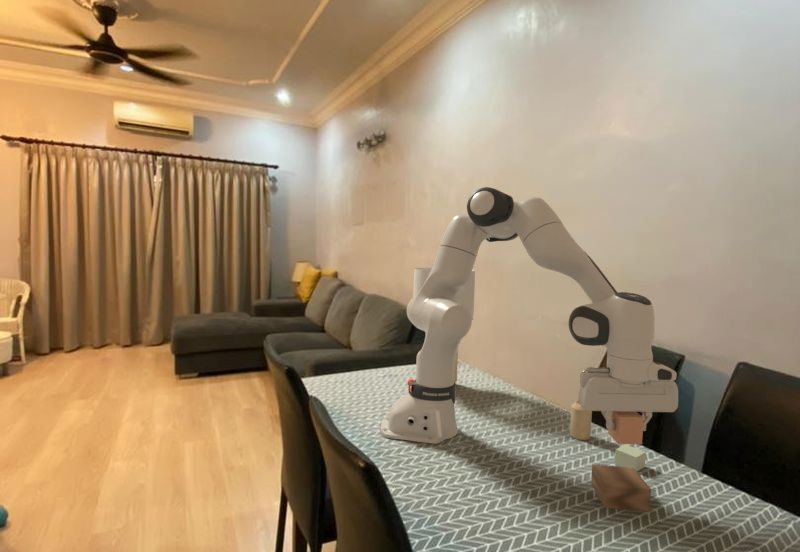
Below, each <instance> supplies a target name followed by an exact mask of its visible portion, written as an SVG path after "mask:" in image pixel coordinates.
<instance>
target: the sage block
mask: <svg viewBox="0 0 800 552" xmlns="http://www.w3.org/2000/svg"><path fill="white" fill-rule="evenodd" d="M646 454H647V452H646V451H645V450H642V449H639V448H636V447H633V446H631V445H630V444H622V446H620V447H618V448H616V449H615V455H614V456H615V457H614V458H615V459H614V466H619V467H632V468H634V469H635V470H636V471H637V472H639V471H640V470H642V469H644V468H645V467H646V456H647V455H646Z"/></svg>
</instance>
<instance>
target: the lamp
mask: <svg viewBox="0 0 800 552" xmlns="http://www.w3.org/2000/svg"><path fill="white" fill-rule="evenodd" d="M431 269H432V267H415V268H414V269H413V270H414V271H413V293H412V294H413V295H412V296H413V297H415V296H416V295H417V294H418V292H419V291H420V289H421V288H422V286H423V284H424V283H425V281H426V279H427V278H428V276H429V274H430V272H431ZM475 286H476V270H475V269H472V272H471V275H470V278H469V281H468V283H467V284H466V285H465V286H464V287H462V288H461V289H460V290H459V292H458V293H457V294H456V296H455V298H454V299H453V300H454V301H457V302H458V303H460V304H461V305H463V306H464V307H465V308H467V309H468V311H469V312H470V314H471V318H472V321H474V312H475V311H474V307H475V291H476V290H475V289H476V288H475ZM413 297H412V298H413ZM458 362H459V349H458V350H457V353H456V359H455V374H454V382H455V383H457V381H458V364H459V363H458Z"/></svg>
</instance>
